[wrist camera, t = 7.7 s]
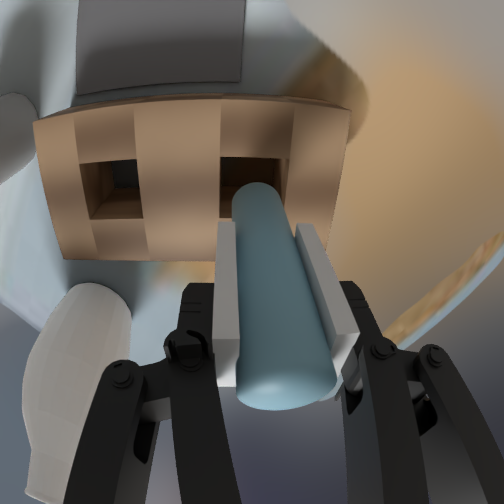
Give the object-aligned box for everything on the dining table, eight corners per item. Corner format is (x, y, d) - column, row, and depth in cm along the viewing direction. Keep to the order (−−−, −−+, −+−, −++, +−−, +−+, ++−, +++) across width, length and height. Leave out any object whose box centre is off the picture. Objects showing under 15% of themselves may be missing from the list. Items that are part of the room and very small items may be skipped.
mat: (86, -40, 11) (85, -41, 11) (249, -61, 12) (249, -63, 12) (78, 95, 19) (76, 95, 19) (240, 81, 20) (240, 81, 20)
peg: (232, 181, 17) (236, 364, 7) (283, 183, 17) (350, 357, 7) (231, 226, 18) (235, 411, 9) (278, 227, 19) (323, 405, 9)
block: (69, 107, 20) (32, 121, 15) (324, 100, 21) (351, 110, 17) (88, 224, 26) (63, 259, 22) (306, 224, 28) (323, 261, 23)
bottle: (79, 333, 36) (35, 496, 15) (49, 273, 30) (-32, 462, 9) (149, 337, 37) (124, 525, 16) (128, 273, 30) (67, 513, 9)
